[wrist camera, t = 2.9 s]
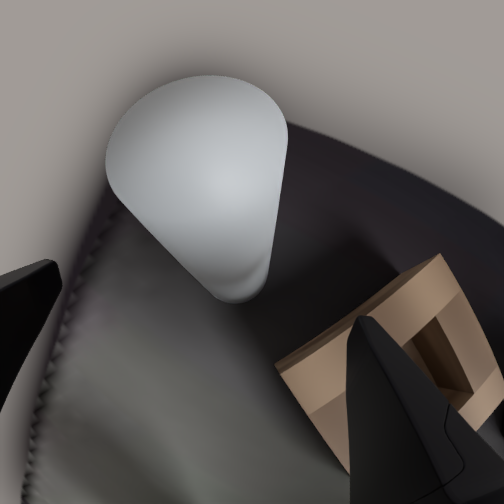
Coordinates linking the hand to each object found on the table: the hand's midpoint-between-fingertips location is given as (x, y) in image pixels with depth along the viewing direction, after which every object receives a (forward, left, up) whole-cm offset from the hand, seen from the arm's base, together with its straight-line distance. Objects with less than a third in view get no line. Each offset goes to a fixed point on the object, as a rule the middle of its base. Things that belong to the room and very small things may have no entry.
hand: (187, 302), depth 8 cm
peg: (+2, +2, -10) cm, 11 cm away
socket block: (+6, -9, -10) cm, 15 cm away
